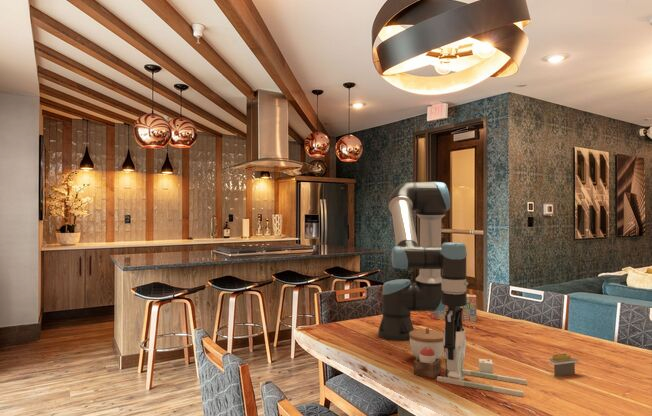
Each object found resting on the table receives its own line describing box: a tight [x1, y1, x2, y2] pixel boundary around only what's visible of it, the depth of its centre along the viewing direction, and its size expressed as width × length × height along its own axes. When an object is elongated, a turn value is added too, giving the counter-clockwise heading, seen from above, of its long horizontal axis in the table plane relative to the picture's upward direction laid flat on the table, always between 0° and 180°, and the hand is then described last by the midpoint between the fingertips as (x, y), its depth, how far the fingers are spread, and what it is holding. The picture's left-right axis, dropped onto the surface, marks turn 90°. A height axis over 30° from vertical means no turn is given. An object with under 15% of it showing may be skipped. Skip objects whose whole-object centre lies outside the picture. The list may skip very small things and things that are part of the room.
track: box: [436, 365, 527, 397], centre depth 131 cm, size 24×11×1 cm, turn 61°
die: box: [478, 358, 494, 374], centre depth 139 cm, size 4×4×4 cm
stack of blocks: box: [430, 293, 478, 323], centre depth 213 cm, size 21×6×12 cm, turn 75°
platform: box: [548, 352, 580, 377], centre depth 138 cm, size 12×18×7 cm, turn 107°
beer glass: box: [442, 326, 467, 381], centre depth 135 cm, size 7×7×15 cm
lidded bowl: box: [409, 327, 444, 359], centre depth 152 cm, size 13×13×11 cm
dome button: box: [419, 347, 435, 364], centre depth 139 cm, size 5×5×7 cm
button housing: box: [412, 357, 442, 379], centre depth 139 cm, size 7×7×4 cm
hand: (454, 365), depth 135 cm, fingers closed on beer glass, 7 cm apart
